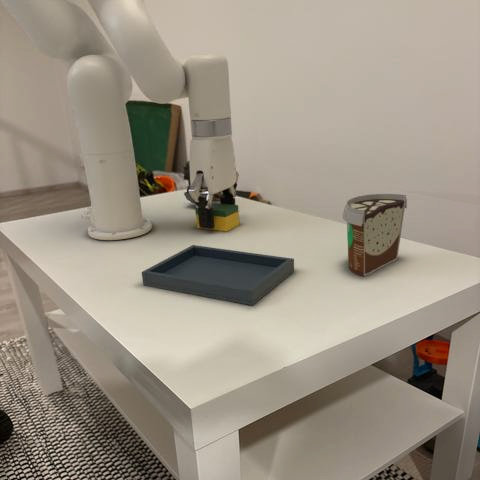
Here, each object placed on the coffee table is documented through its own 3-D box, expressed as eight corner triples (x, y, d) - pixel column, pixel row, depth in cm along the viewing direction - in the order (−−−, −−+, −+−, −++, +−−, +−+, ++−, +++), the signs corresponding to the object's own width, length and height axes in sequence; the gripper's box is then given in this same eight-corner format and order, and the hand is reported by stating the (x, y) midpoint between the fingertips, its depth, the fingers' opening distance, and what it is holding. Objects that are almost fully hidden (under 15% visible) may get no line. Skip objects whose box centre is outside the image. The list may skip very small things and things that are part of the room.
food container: (368, 249, 86) (372, 189, 81) (402, 257, 82) (408, 194, 77) (324, 270, 78) (325, 205, 74) (358, 279, 74) (362, 211, 70)
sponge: (196, 228, 102) (195, 208, 100) (210, 221, 106) (208, 202, 104) (226, 231, 99) (225, 211, 97) (239, 224, 103) (238, 205, 101)
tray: (143, 285, 76) (141, 272, 75) (193, 256, 87) (192, 244, 86) (252, 305, 68) (251, 291, 67) (294, 271, 78) (294, 258, 77)
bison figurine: (233, 208, 115) (230, 162, 110) (207, 215, 111) (204, 167, 106) (202, 200, 123) (198, 157, 119) (177, 206, 119) (173, 162, 115)
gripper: (218, 123, 103) (224, 210, 111) (167, 135, 89) (177, 232, 97) (251, 123, 99) (255, 213, 107) (202, 135, 86) (210, 236, 94)
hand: (218, 221), depth 102 cm, fingers open, 7 cm apart
